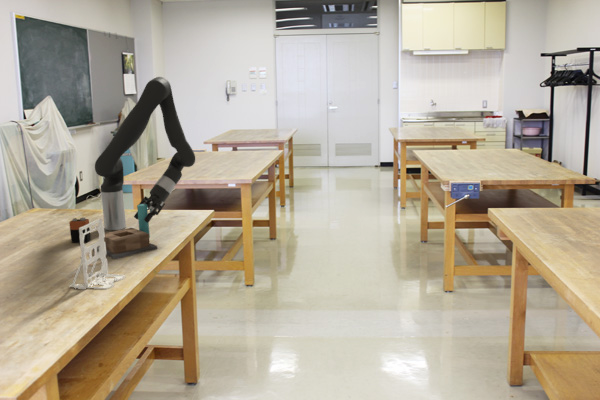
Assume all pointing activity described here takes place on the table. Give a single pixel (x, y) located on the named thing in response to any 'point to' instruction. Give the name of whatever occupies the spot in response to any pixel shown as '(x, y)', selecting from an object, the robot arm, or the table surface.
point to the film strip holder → (100, 254)
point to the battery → (74, 230)
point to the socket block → (126, 243)
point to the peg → (141, 216)
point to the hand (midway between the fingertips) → (140, 219)
